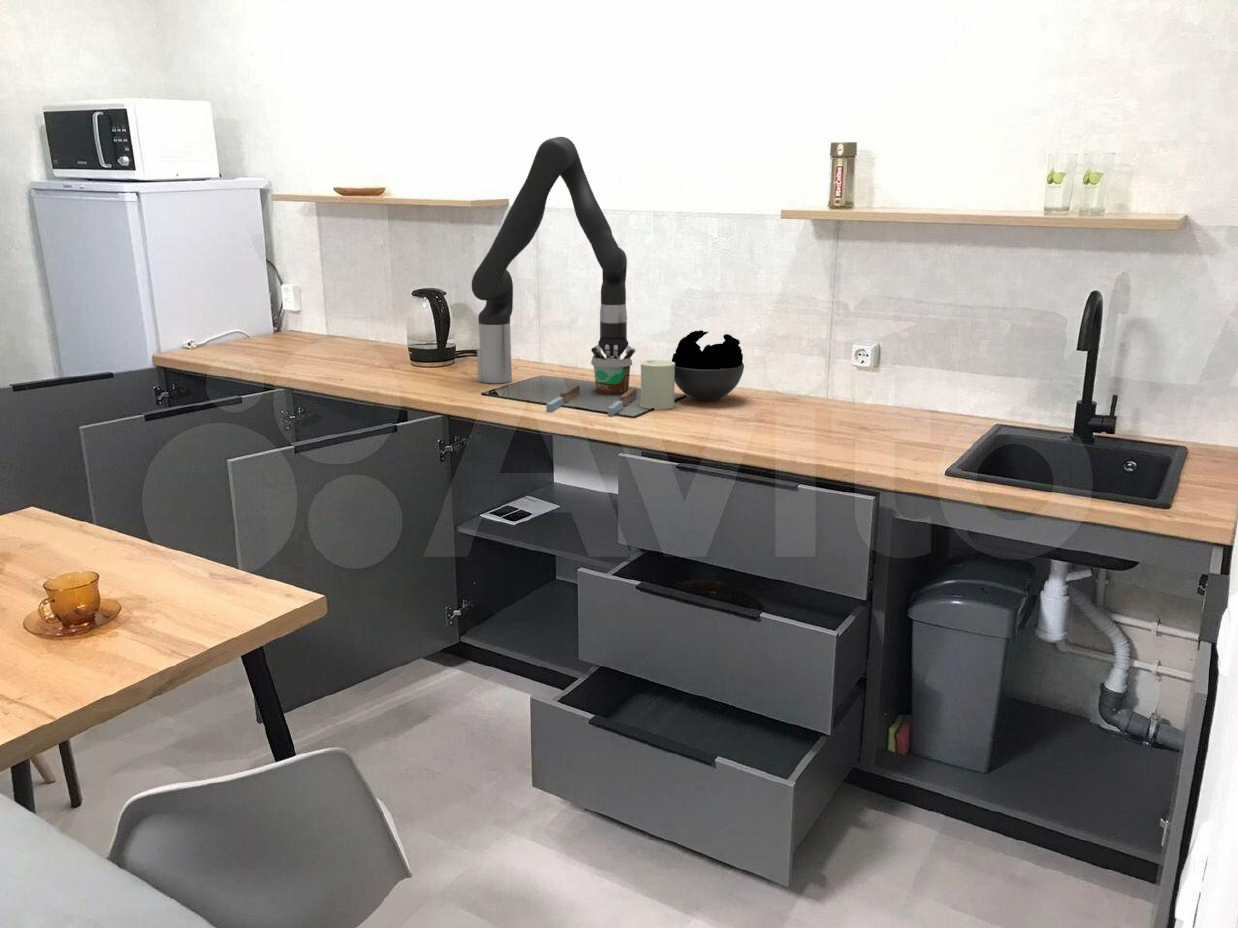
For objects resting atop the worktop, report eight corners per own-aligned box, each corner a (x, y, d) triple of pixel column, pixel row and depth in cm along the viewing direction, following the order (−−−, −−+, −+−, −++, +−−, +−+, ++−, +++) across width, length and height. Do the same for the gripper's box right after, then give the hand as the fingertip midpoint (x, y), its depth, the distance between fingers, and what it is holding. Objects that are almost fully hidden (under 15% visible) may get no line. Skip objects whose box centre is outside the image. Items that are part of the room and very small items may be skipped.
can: (656, 400, 268) (657, 357, 265) (681, 406, 262) (682, 361, 259) (632, 405, 262) (633, 361, 259) (658, 411, 256) (658, 365, 253)
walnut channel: (560, 402, 266) (560, 393, 265) (574, 393, 277) (574, 384, 276) (625, 406, 261) (625, 397, 261) (636, 397, 273) (636, 388, 272)
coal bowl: (658, 395, 275) (658, 327, 270) (723, 390, 282) (725, 324, 277) (687, 410, 257) (688, 338, 252) (755, 404, 264) (758, 334, 259)
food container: (583, 393, 278) (582, 358, 275) (594, 388, 283) (593, 354, 280) (622, 397, 272) (622, 361, 269) (632, 392, 277) (632, 357, 274)
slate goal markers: (546, 411, 255) (546, 404, 255) (557, 404, 264) (557, 397, 263) (613, 416, 251) (613, 408, 250) (622, 408, 259) (622, 401, 259)
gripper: (586, 321, 275) (587, 382, 280) (632, 322, 272) (632, 384, 277) (594, 317, 282) (594, 377, 287) (639, 319, 279) (639, 379, 284)
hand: (613, 380), depth 282 cm, fingers closed
